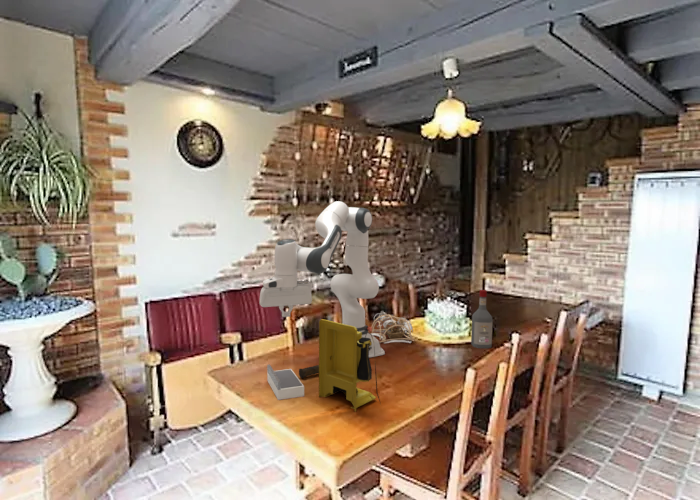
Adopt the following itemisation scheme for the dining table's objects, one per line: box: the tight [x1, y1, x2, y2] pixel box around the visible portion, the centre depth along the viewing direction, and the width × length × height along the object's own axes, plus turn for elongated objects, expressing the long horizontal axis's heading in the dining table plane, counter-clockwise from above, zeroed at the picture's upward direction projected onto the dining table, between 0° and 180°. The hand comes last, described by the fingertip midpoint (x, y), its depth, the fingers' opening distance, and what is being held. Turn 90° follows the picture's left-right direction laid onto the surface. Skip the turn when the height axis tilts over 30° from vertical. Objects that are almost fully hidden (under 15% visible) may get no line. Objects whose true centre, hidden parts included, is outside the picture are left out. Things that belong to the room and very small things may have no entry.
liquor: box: [470, 289, 494, 349], centre depth 228 cm, size 9×9×30 cm
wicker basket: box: [369, 310, 415, 344], centre depth 244 cm, size 28×35×16 cm
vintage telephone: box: [318, 318, 382, 412], centre depth 163 cm, size 31×14×30 cm, turn 48°
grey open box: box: [266, 364, 305, 401], centre depth 174 cm, size 10×20×7 cm, turn 22°
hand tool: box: [298, 364, 319, 379], centre depth 189 cm, size 19×4×5 cm, turn 126°
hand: (286, 316), depth 172 cm, fingers closed
